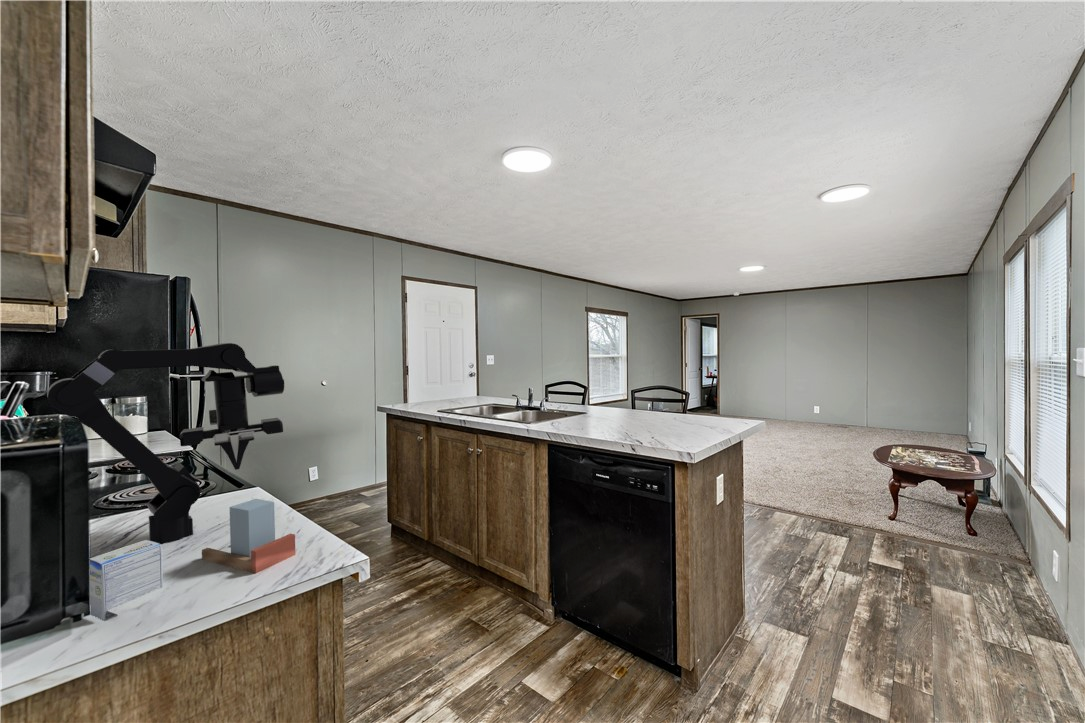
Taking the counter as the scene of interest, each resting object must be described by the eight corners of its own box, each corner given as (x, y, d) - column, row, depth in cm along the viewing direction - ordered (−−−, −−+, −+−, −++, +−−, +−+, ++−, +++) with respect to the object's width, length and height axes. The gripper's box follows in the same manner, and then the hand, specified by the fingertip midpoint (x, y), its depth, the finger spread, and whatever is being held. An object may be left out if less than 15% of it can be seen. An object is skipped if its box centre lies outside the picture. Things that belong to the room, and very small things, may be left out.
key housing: (197, 567, 85) (196, 539, 85) (244, 548, 94) (244, 522, 94) (253, 583, 80) (253, 553, 80) (299, 560, 88) (298, 533, 88)
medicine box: (148, 590, 78) (146, 538, 78) (164, 595, 76) (162, 543, 76) (87, 615, 71) (85, 558, 70) (104, 622, 69) (101, 564, 69)
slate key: (231, 561, 85) (229, 507, 85) (256, 550, 89) (255, 498, 89) (250, 566, 83) (248, 510, 83) (275, 554, 88) (274, 501, 87)
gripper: (275, 391, 115) (280, 454, 116) (180, 401, 104) (186, 469, 106) (280, 396, 106) (286, 463, 107) (176, 407, 95) (183, 481, 96)
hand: (237, 469), depth 104 cm, fingers closed
